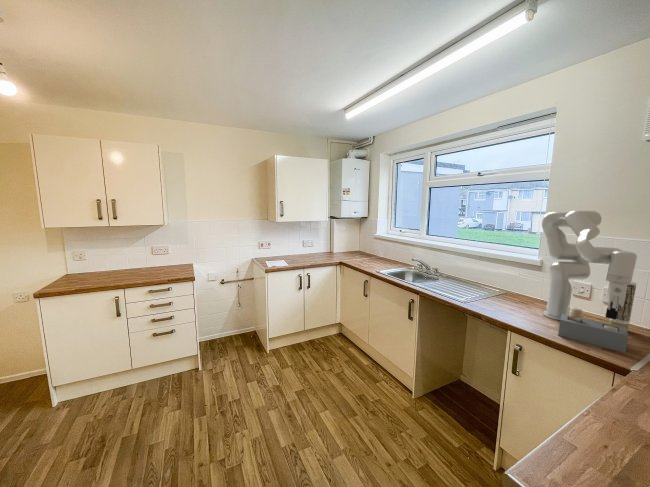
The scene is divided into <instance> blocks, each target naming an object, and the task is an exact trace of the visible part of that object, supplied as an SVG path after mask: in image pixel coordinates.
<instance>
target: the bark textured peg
mask: <svg viewBox="0 0 650 487" xmlns="http://www.w3.org/2000/svg"><path fill="white" fill-rule="evenodd" d="M636 288H637V282H634V281H631V284H630V285H627V291H626V296H625V302H624V306H623V307H621V306H620V304H619V305H618V309H617V311H618V312H617V316H616V319H610V318H609V321H608V324H613V325H617V326H622V327H626V329H627V332H628V331H629V327H630V322H631V316H632V311H633V305H634V304H633V303H634V300H635V294H636Z"/></svg>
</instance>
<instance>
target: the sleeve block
mask: <svg viewBox="0 0 650 487" xmlns="http://www.w3.org/2000/svg"><path fill="white" fill-rule="evenodd" d="M558 325H559V326H558V334H557V336H559V337H562V338H567V339H571V340H574V341H579V342H582V343H586V344H588V345H593V346H598V347H602V348H605V349H608V350H612V351H616V352H619V353H620V352H621V353H623V354H626V351H627V346H628V339H629V333H628V331H627V329H626V327H622V326H617V325H613V324H609V322H608V323H607V322H603V321H598V320H593V319H588V318H585V317H582V318H581V322H577V321H572V320H569V314H568V315H567V314H562V315H561V319H560V320H559V324H558ZM604 326H612V327H615V328H617V329H618V331H616V330H612V329H607V328H604Z"/></svg>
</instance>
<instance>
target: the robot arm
mask: <svg viewBox="0 0 650 487" xmlns="http://www.w3.org/2000/svg"><path fill="white" fill-rule="evenodd" d="M601 222H602V216H601V214H600V213H599V212H597V211H595V210H583V209H582V210H571V211H550V212H548V213H546V214H545V215H544V216H543V217H542V220H541V228H542V231H543V233H544V235H545V238H546V242H547V247H548V252H549V255H550V257H551V259H554V260H559V261H555V262H553V263H552V264H550V266H549V279H550V280H549V289H548V296H547V302H546V303H547V304H546V305H545V308H546V310H542V315H543V316H545V317H547V318H550V319H554V320H556V321H560V319H561V315H562V314H567V315H569V313H570V307H571V306H570V305H571V299H572V293H573V292H572V291H573V287H572V283H571V282H570V280H578V281H579V280H581V281H582V280H586V279H588V278H589V277H590V275H591V268H590V267H591V266H590V264H606V265H607V264H608V268H607V274H606V278H605V281H607V282H608V288H607V296H606V301H607V305H608V306H607V308H606V312H605V318H606V319H609V320H610V319H616V316H617V312H618V311H617V309H618V305H619V304H620V306H621V307H623V306H624V302H625V296H626V291H627V285H630V284H631V282H633V280H632V279H633V276H634V272H635V266H636V262H637V259H638V255H637V253H635V252H633V251H626V250H623V249H620V248H618V247H606V246H604V247H602V246H601V247H599V246H594V245H592V243H591V240H593V239H595V238H597V237H598V236H599V235H600V234H601V232H600V228H599V227H598V226H600V224H601ZM561 227H562V228H570V229H571V230H572V231H573V233H574V234H575V235H576V236H577V238H576V240H575V243H569V242H568V240H567V237H566V234H565V233H564V231H563V230H562V229H561Z"/></svg>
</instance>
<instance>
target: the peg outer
mask: <svg viewBox="0 0 650 487" xmlns="http://www.w3.org/2000/svg"><path fill="white" fill-rule="evenodd" d="M604 328H607V329H612V330H616V331H618V329H617V328H615V327H612V326H604Z"/></svg>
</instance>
